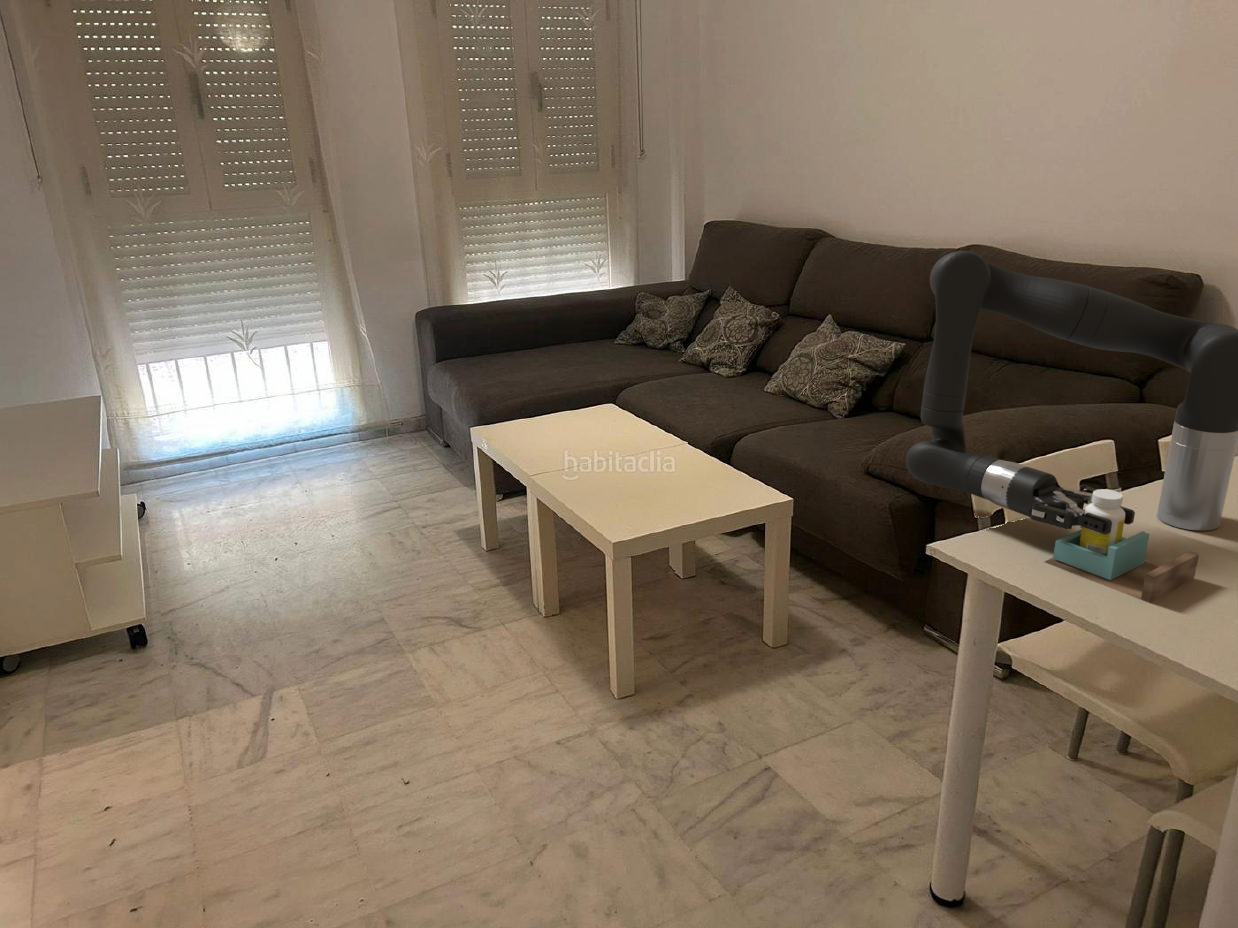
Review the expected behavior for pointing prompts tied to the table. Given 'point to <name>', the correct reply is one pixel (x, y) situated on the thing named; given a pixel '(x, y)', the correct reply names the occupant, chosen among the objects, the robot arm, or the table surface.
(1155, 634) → the table surface
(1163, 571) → the walnut board
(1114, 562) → the teal open tray
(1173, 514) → the robot arm
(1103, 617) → the table surface
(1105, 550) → the supplement bottle
